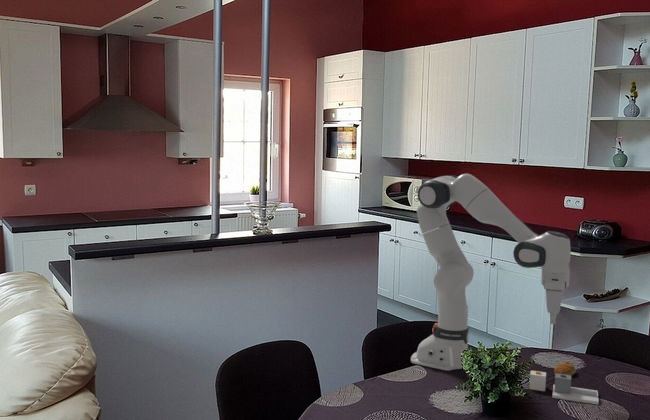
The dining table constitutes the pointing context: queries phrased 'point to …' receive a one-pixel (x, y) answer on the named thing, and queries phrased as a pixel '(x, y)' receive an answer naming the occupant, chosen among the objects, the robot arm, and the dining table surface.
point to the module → (538, 380)
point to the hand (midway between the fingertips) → (553, 320)
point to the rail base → (572, 391)
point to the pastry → (565, 368)
